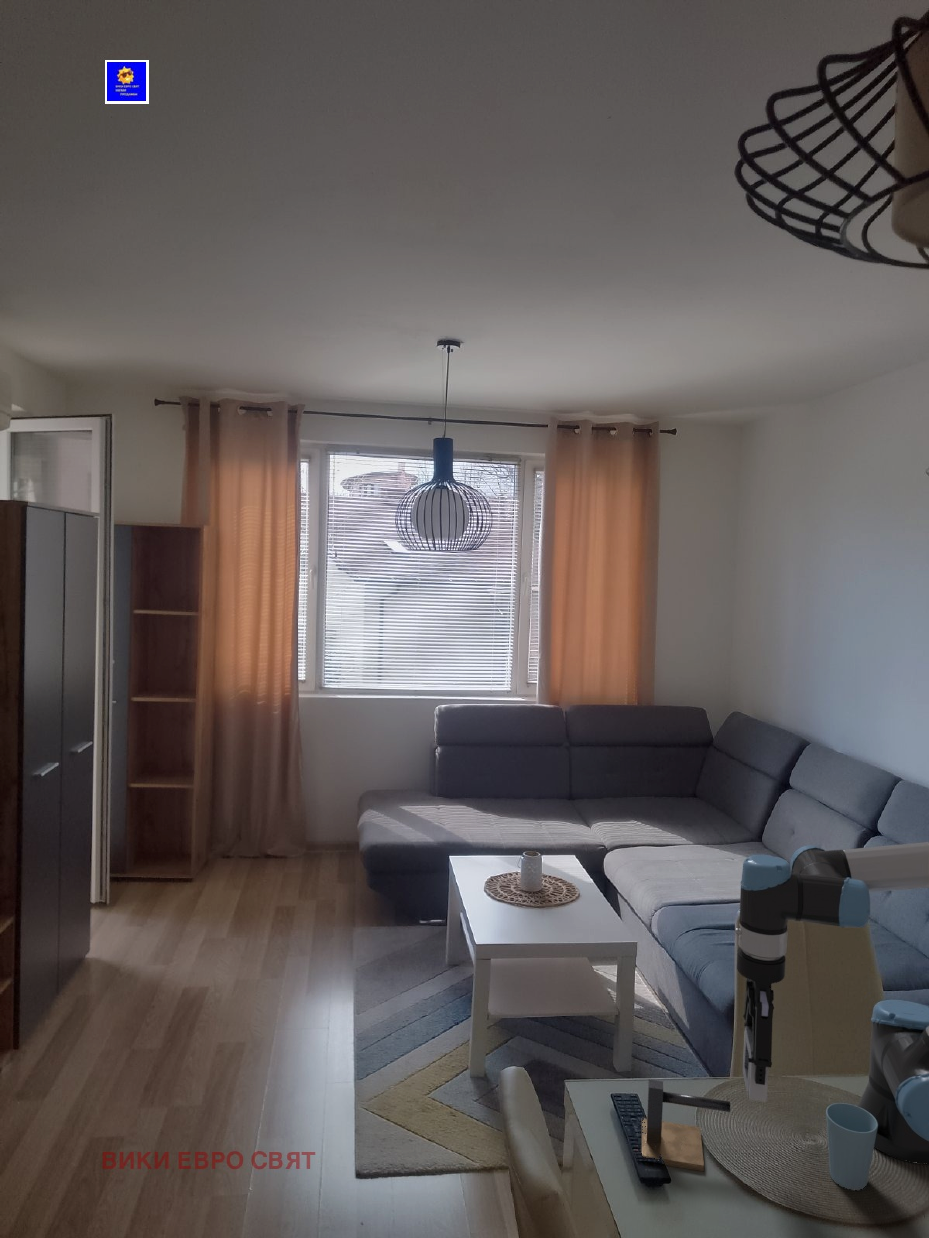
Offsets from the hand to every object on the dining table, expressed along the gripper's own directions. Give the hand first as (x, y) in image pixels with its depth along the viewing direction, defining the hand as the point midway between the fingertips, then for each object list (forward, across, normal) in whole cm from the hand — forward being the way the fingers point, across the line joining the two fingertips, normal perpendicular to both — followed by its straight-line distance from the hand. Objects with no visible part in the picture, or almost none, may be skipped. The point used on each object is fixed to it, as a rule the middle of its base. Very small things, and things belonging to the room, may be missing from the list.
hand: (754, 1083), depth 143 cm
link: (0, 0, 0) cm, 0 cm away
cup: (+13, +1, +15) cm, 20 cm away
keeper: (+13, 0, -11) cm, 17 cm away
